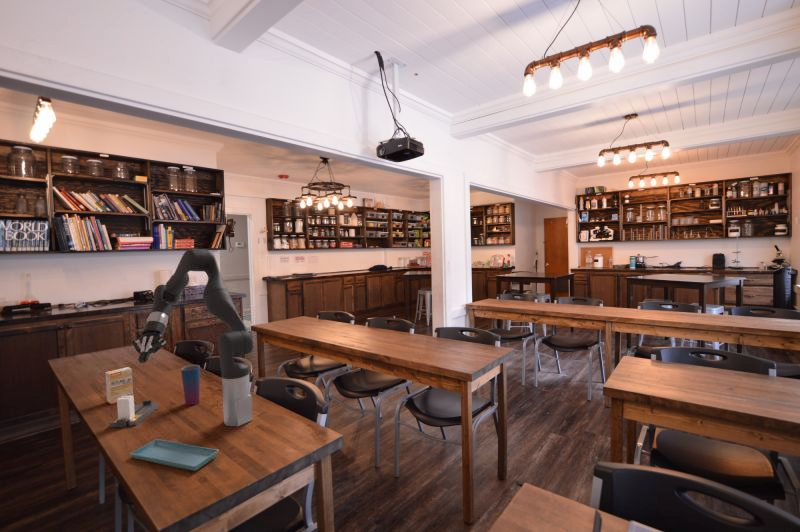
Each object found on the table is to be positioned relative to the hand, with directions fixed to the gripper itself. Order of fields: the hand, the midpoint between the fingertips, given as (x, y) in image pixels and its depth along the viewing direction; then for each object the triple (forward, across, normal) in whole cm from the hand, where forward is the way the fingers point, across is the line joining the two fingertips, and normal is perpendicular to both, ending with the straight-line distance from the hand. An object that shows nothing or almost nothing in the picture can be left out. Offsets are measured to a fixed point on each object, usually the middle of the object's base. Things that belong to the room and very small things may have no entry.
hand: (141, 362), depth 149 cm
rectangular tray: (+41, +28, -12) cm, 51 cm away
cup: (+11, +16, +17) cm, 26 cm away
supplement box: (+4, -17, +24) cm, 29 cm away
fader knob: (+20, -1, +5) cm, 21 cm away
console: (+17, -1, +10) cm, 20 cm away
